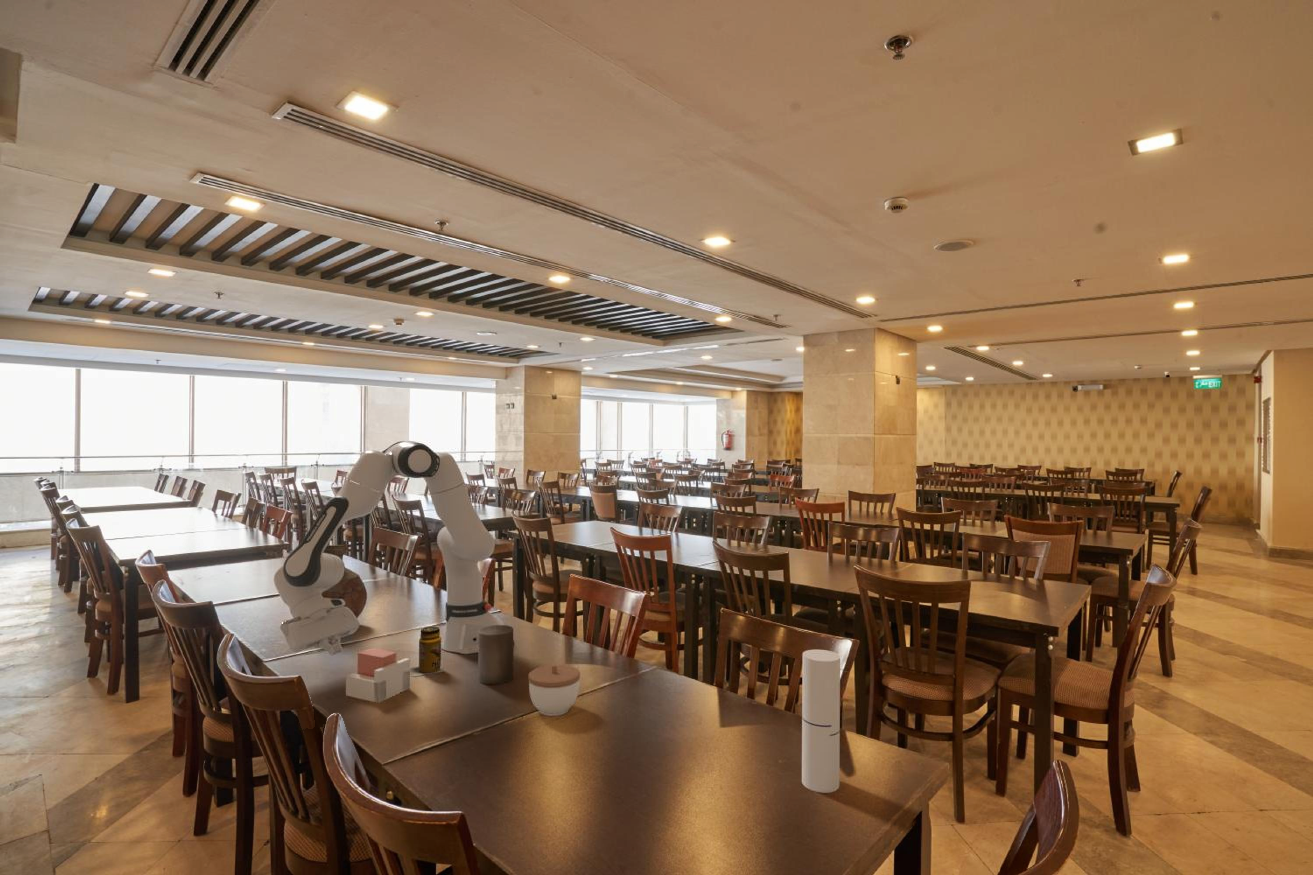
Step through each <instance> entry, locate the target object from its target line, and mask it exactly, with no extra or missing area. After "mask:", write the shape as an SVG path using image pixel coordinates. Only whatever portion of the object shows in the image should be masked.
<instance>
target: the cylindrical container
mask: <svg viewBox="0 0 1313 875" xmlns="http://www.w3.org/2000/svg"><path fill="white" fill-rule="evenodd" d="M801 665H802V667H801V668H802V672H801V674H802V675H801V677H802V684H801V686H802V688H801V690H802V691H801V692H802V694H801V696H802V697H801V700H802V701H801V707H802V708H801V722H802V723H801V783H802V785H803V786H804V787H805V788H807V789H808V790H810V791H813V792H816V793H823V794H824V793H825V794H827V793H828V794H829V793H833V792H836V791H837V790H839V788H840V758H841V757H840V755H841V754H840V749H841V747H840V744H841V743H840V738H841V736H840V732H841V730H840V729H841V728H840V727H841V726H840V724H841V723H840V722H841V720H840V717H841V714H840V713H841V708H840V707H841V699H840V698H841V694H840V693H841V656H840V655H839V654H838V653H836V652H834V651H831V650H826V649H808V650H805V651H803V652H802V664H801Z"/></svg>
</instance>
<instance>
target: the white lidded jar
mask: <svg viewBox="0 0 1313 875" xmlns="http://www.w3.org/2000/svg"><path fill="white" fill-rule="evenodd" d="M580 678H581V672H580V670H579V669H578V668H576V667H574V666H570V665H566V664H565V665H564V664H550V665H544V666H540V667H537V668H534V669H533V670H531V671H530V672H529V673H528V678H527V679H528V690H529V691H528V692H529V696H530V699H531V702H532V704H533V706H534V707H535V708H536V709H537V710H538V712H539V713H540V714H541V715H543V716H548V717H557V716H558V717H559V716H561V715H564V714H566V713H568V711H569V710H570V709H571V707H572V706H573V705H574V704H575V702H576V701H577V698H578V695H579V689H580Z"/></svg>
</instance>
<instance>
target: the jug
mask: <svg viewBox="0 0 1313 875" xmlns="http://www.w3.org/2000/svg"><path fill="white" fill-rule="evenodd" d="M348 550H349V548H348V547H347V545H346V544H335V545H334V544H332V545H330V544H328V545H327V547H326V548H325V550H324V552H323V553H327V554H332V555H336V556H338V557H340V558H341V559H342V560H343V559H344V555H345V554H346V553H347V551H348ZM322 596H323V598H331V599H343V600H344V601H345V605H344V607H348V608H349V609H350V610H351V611H352V612H353V614H354V615H355V616H356V618H357V619H358V618H359V617H360V615H361V614H362V613H363V611H364V609H365V607H366V604H367V599H368V592H367V588H366V586H365V583H364V581H363V580H362V578H361V576H360V574H358V573H356V572H355V571H353V570H351V569H349V568H347V567H345V572H344V576H343V578H342V579H341V581H340V582H339V583H338V584H336V585H335V586H333V587H332V588H330V589H328V590H327V591H325V592H322Z"/></svg>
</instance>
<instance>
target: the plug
mask: <svg viewBox="0 0 1313 875" xmlns="http://www.w3.org/2000/svg"><path fill="white" fill-rule="evenodd" d="M395 662H397V652H394V651H389V650H384V649H378V648H373V647H371V648H368V649H365V650H362V651H359V652H357V674H361V675H365V676H370V677H374V670H377V669H379V668H382V667H384V666H387V665H389V664H392V663H395Z"/></svg>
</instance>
